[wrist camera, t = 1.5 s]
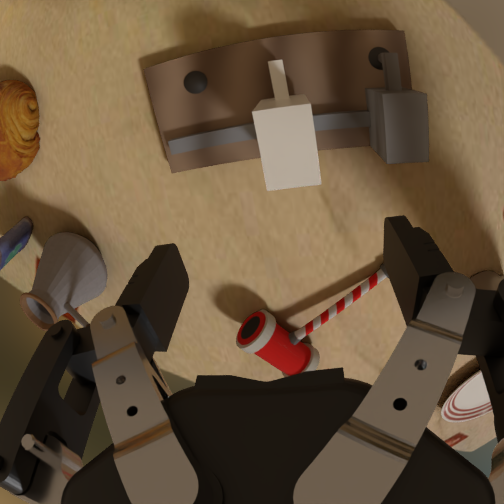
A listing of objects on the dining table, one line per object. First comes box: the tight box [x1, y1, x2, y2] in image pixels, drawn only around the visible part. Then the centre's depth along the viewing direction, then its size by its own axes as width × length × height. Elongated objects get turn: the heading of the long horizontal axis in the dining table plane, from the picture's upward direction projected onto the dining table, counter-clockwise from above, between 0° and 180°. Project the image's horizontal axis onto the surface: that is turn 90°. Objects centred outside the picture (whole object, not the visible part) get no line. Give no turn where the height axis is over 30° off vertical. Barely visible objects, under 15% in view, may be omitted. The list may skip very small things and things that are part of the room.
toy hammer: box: [236, 264, 389, 377], centre depth 41 cm, size 23×12×6 cm, turn 136°
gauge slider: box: [252, 59, 321, 191], centre depth 24 cm, size 4×10×9 cm, turn 11°
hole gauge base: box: [144, 30, 429, 173], centre depth 25 cm, size 26×12×8 cm, turn 101°
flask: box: [0, 217, 33, 270], centre depth 38 cm, size 9×3×11 cm, turn 130°
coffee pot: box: [20, 232, 107, 331], centre depth 37 cm, size 21×12×15 cm, turn 74°
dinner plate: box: [441, 370, 493, 422], centre depth 52 cm, size 27×27×3 cm
